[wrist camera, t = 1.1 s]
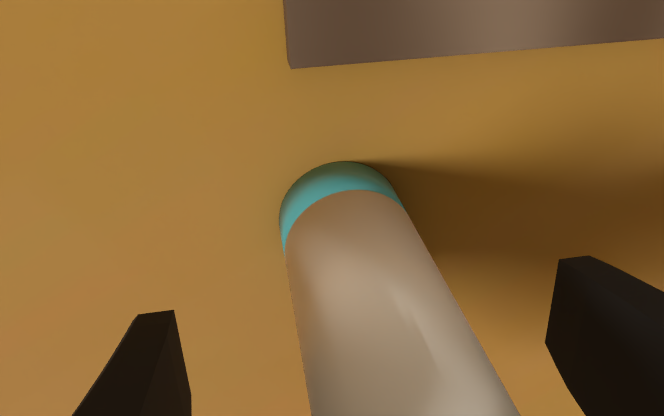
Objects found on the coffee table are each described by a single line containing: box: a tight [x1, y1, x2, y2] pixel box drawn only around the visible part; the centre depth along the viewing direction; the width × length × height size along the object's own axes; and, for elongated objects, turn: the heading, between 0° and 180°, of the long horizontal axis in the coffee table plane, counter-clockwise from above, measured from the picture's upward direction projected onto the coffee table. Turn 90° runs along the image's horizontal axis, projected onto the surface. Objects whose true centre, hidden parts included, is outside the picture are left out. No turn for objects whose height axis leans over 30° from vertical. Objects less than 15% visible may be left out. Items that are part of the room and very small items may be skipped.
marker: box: [279, 162, 520, 416], centre depth 11 cm, size 3×3×9 cm
